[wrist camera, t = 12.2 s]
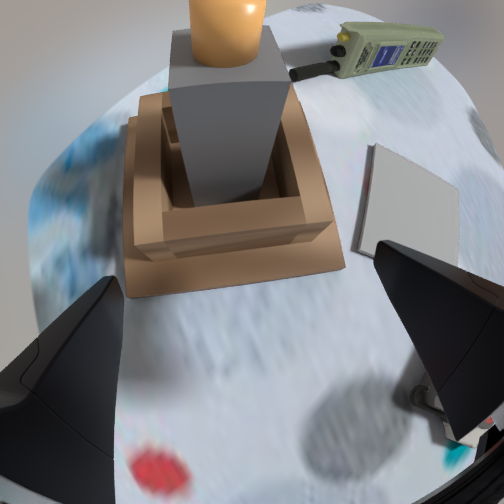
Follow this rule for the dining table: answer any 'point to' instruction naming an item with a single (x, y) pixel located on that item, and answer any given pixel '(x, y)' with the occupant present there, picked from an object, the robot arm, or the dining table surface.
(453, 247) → the mat
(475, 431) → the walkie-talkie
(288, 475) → the dining table surface
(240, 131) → the connector plug
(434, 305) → the robot arm
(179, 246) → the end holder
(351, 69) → the handheld radio
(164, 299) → the dining table surface
